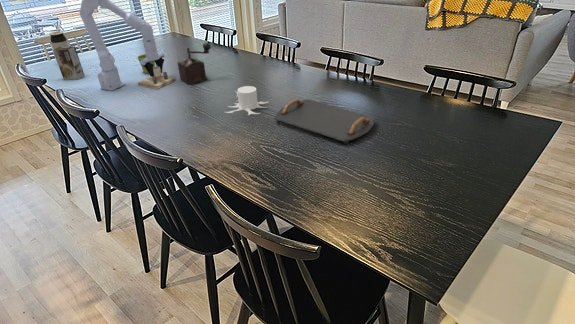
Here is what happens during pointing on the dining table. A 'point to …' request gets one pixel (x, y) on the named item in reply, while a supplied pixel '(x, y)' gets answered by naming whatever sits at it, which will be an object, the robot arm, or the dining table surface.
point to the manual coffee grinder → (193, 68)
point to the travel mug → (58, 39)
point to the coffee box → (68, 62)
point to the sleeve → (157, 72)
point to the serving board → (325, 119)
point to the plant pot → (142, 59)
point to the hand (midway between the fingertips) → (156, 74)
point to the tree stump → (247, 100)
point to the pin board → (159, 83)
